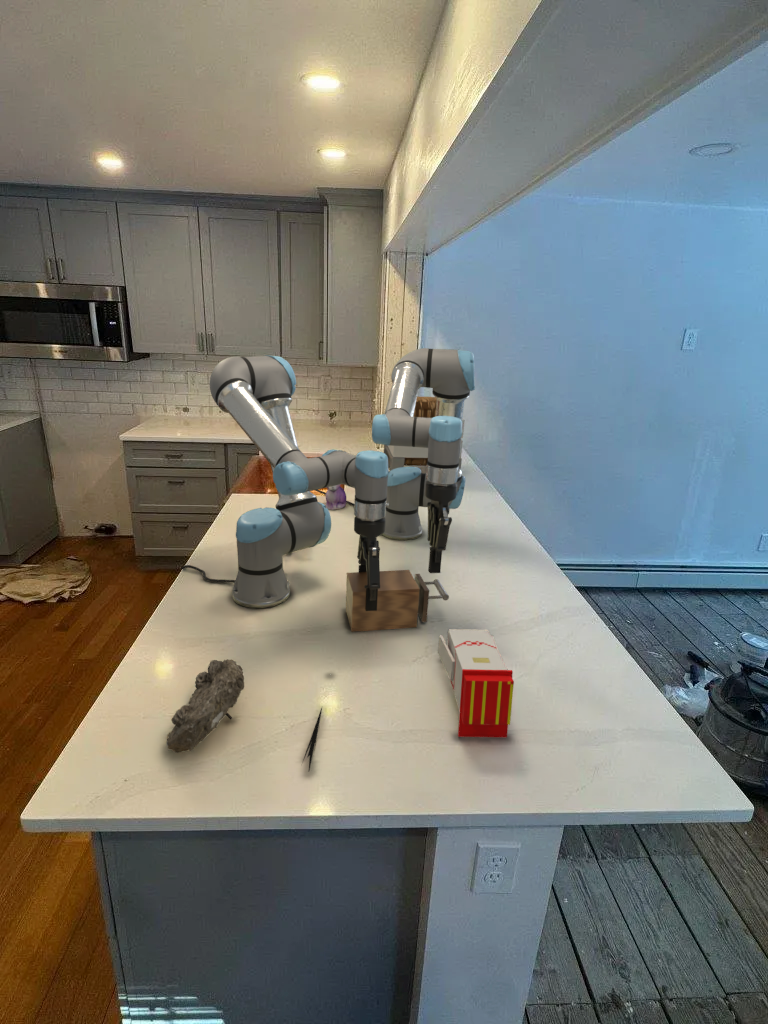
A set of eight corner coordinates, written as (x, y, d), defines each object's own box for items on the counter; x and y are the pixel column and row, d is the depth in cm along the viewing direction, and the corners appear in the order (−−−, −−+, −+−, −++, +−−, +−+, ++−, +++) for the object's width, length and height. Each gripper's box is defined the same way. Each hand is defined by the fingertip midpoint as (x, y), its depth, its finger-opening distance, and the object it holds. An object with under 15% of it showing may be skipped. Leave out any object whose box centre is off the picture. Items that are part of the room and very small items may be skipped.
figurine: (329, 511, 218) (329, 474, 213) (319, 503, 226) (319, 467, 221) (351, 508, 222) (352, 471, 217) (341, 500, 230) (342, 465, 225)
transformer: (382, 463, 289) (386, 382, 275) (445, 464, 293) (451, 384, 279) (390, 482, 257) (394, 392, 243) (460, 483, 261) (468, 394, 247)
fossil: (192, 660, 117) (244, 628, 112) (224, 691, 120) (276, 661, 115) (142, 746, 98) (202, 712, 93) (182, 779, 101) (242, 748, 96)
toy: (488, 613, 130) (523, 677, 101) (484, 667, 133) (517, 744, 104) (435, 612, 130) (455, 676, 101) (432, 666, 133) (451, 743, 103)
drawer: (436, 602, 152) (439, 572, 149) (447, 620, 144) (450, 589, 141) (361, 607, 148) (362, 576, 145) (367, 626, 139) (368, 593, 136)
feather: (331, 679, 122) (336, 673, 122) (307, 777, 96) (313, 769, 95) (324, 675, 122) (329, 669, 121) (298, 772, 95) (304, 764, 95)
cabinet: (406, 606, 152) (409, 569, 148) (416, 627, 142) (419, 588, 138) (345, 610, 148) (346, 572, 145) (351, 631, 138) (352, 592, 135)
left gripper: (396, 534, 125) (391, 621, 132) (376, 500, 146) (373, 577, 154) (362, 535, 123) (359, 623, 131) (347, 501, 145) (345, 578, 152)
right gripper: (465, 489, 130) (456, 582, 138) (448, 474, 142) (440, 560, 150) (434, 490, 129) (426, 584, 136) (419, 474, 141) (413, 561, 148)
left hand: (367, 598), depth 142 cm, fingers closed on cabinet, 11 cm apart
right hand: (434, 571), depth 143 cm, fingers closed
